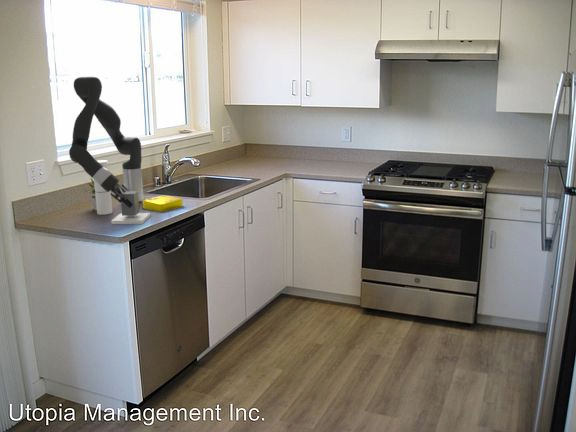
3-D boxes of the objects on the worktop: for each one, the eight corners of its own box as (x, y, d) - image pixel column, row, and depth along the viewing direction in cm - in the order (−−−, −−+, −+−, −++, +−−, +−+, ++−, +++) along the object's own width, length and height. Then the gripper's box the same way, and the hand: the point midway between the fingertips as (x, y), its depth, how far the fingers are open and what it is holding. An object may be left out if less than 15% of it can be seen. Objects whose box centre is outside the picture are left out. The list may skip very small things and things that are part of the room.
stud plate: (120, 216, 280) (119, 198, 278) (150, 216, 280) (149, 198, 278) (111, 224, 267) (109, 205, 265) (142, 223, 266) (140, 205, 264)
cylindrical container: (114, 210, 291) (109, 160, 285) (110, 214, 284) (105, 162, 278) (99, 211, 291) (94, 160, 285) (95, 214, 284) (90, 162, 278)
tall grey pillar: (126, 212, 276) (124, 191, 273) (139, 212, 276) (137, 190, 273) (122, 215, 270) (120, 193, 267) (135, 215, 270) (133, 193, 267)
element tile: (161, 212, 287) (161, 203, 286) (141, 208, 296) (140, 199, 295) (184, 206, 299) (184, 197, 298) (164, 203, 308) (163, 194, 307)
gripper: (105, 176, 261) (134, 202, 264) (116, 170, 275) (143, 195, 278) (94, 188, 263) (123, 214, 265) (105, 182, 277) (133, 206, 279)
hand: (133, 204), depth 272 cm, fingers closed on tall grey pillar, 6 cm apart
